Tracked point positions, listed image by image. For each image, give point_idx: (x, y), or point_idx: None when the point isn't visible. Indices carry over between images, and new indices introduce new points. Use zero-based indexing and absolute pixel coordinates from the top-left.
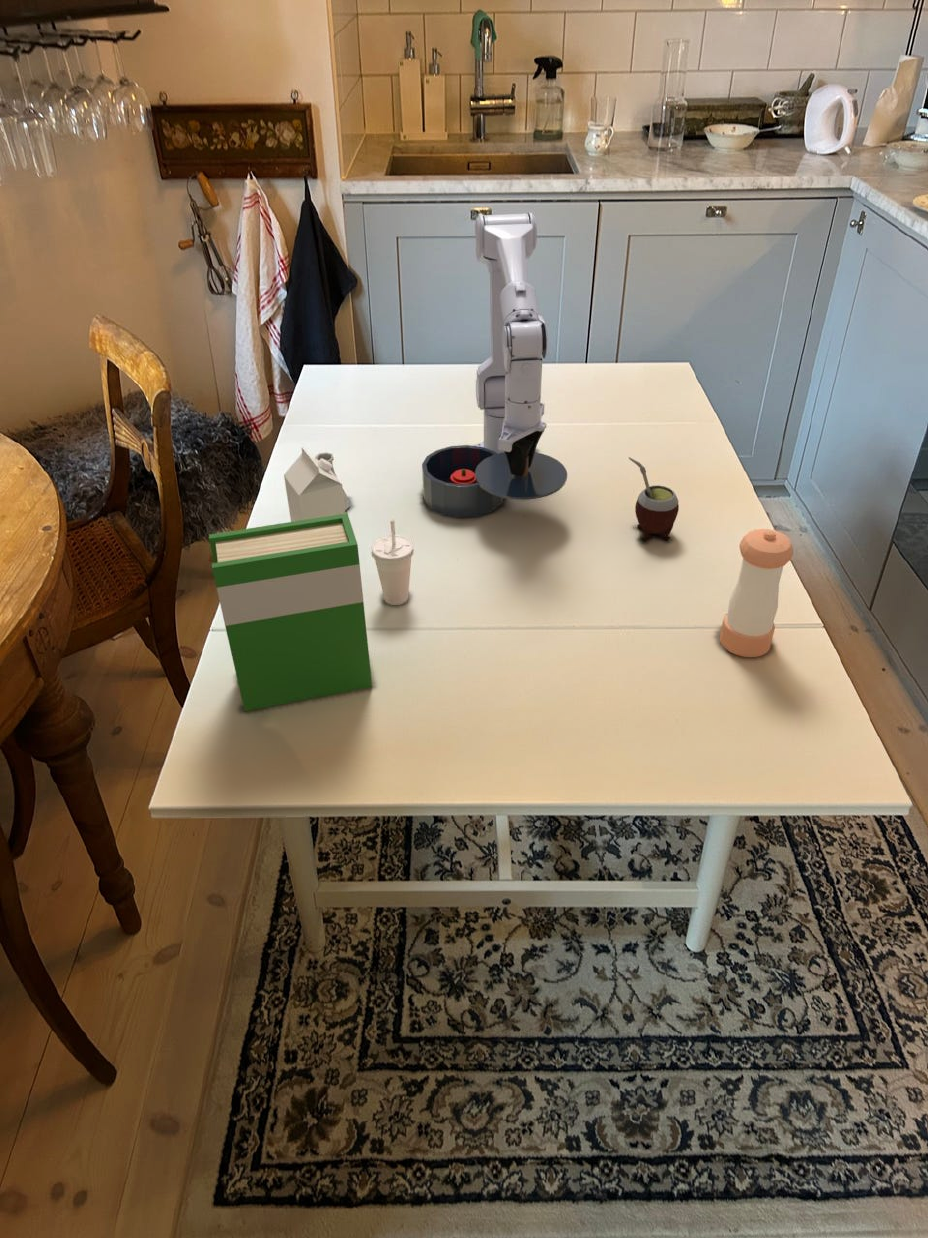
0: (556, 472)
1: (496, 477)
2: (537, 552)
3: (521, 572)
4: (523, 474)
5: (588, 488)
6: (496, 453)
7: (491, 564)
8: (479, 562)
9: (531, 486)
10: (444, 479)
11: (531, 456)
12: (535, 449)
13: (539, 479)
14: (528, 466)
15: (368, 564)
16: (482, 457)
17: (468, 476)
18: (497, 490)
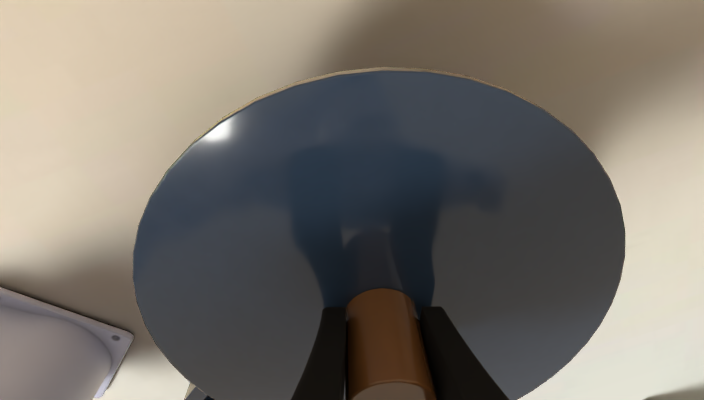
0: (286, 167)
1: None
2: (561, 52)
3: (694, 60)
4: (425, 307)
5: (33, 25)
6: (192, 395)
7: (646, 165)
8: (636, 198)
9: (499, 233)
10: None
11: (342, 366)
12: (299, 394)
13: (407, 223)
14: (345, 317)
15: (651, 376)
16: (206, 398)
17: None
18: (565, 338)
